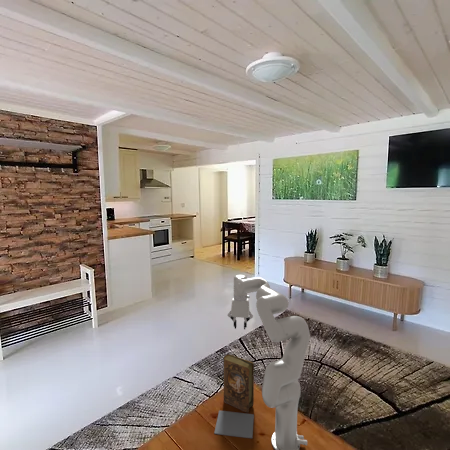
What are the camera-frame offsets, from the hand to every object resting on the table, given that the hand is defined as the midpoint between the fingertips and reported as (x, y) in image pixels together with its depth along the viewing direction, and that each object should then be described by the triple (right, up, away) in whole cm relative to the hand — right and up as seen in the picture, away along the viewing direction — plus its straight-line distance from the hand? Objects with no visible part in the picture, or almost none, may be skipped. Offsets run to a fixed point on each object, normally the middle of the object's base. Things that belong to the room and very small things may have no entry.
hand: (240, 327), depth 159 cm
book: (-2, -39, -8) cm, 39 cm away
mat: (-4, -40, -21) cm, 45 cm away
